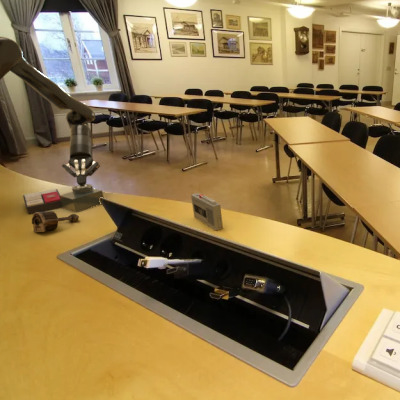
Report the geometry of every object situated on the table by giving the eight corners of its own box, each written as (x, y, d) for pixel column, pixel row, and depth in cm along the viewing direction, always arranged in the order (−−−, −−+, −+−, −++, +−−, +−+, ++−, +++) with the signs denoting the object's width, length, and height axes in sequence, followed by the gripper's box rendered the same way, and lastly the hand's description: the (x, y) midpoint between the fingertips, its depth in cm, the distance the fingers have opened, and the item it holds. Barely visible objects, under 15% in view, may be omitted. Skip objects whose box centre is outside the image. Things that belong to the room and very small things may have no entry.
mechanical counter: (25, 213, 108) (25, 216, 100) (70, 200, 115) (73, 202, 108) (35, 233, 110) (35, 237, 102) (79, 219, 117) (82, 222, 110)
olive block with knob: (76, 212, 122) (70, 194, 119) (62, 208, 125) (57, 190, 123) (105, 203, 131) (100, 185, 128) (91, 199, 135) (87, 182, 132)
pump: (81, 193, 126) (79, 188, 125) (75, 191, 127) (74, 186, 126) (90, 190, 129) (89, 185, 128) (85, 189, 130) (84, 184, 129)
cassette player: (194, 217, 119) (190, 192, 115) (201, 215, 121) (197, 190, 117) (215, 230, 109) (212, 203, 106) (223, 228, 111) (220, 201, 107)
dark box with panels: (25, 205, 118) (22, 193, 128) (29, 216, 120) (25, 203, 129) (62, 198, 125) (56, 187, 135) (65, 208, 127) (59, 196, 137)
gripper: (57, 144, 127) (57, 182, 121) (97, 141, 132) (98, 178, 126) (65, 154, 134) (65, 191, 128) (102, 151, 138) (104, 187, 132)
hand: (81, 184), depth 127 cm, fingers closed
